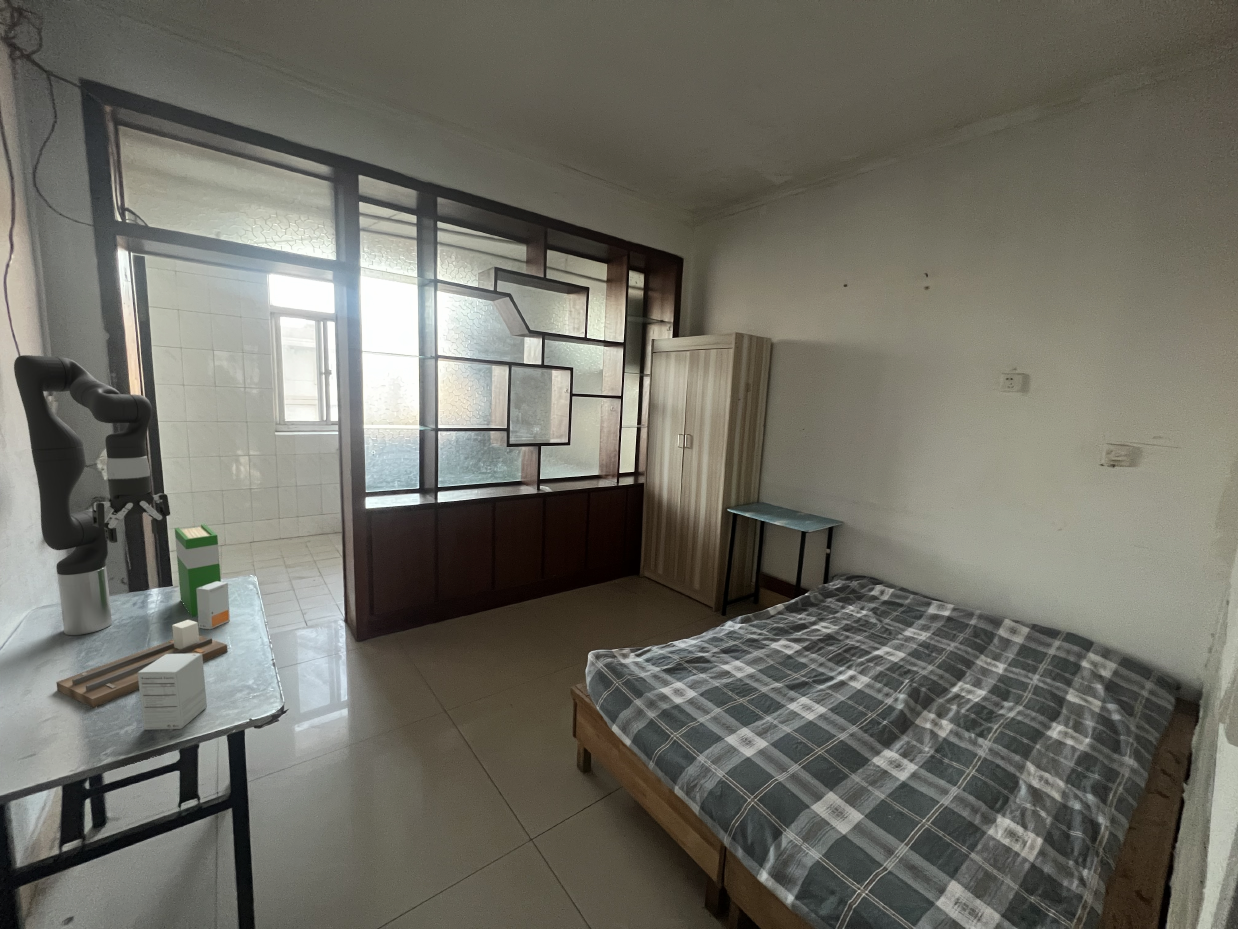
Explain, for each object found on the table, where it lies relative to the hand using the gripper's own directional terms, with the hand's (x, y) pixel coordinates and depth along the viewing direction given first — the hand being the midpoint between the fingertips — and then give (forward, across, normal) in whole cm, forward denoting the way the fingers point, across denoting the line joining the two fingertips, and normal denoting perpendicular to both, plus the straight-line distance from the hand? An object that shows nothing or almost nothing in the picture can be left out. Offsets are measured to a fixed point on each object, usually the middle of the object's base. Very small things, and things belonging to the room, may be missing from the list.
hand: (135, 538), depth 125 cm
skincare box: (+30, -16, 0) cm, 34 cm away
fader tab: (+28, -3, +12) cm, 30 cm away
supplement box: (+30, +13, +39) cm, 51 cm away
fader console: (+30, +5, +12) cm, 33 cm away
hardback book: (+30, -22, -18) cm, 42 cm away
